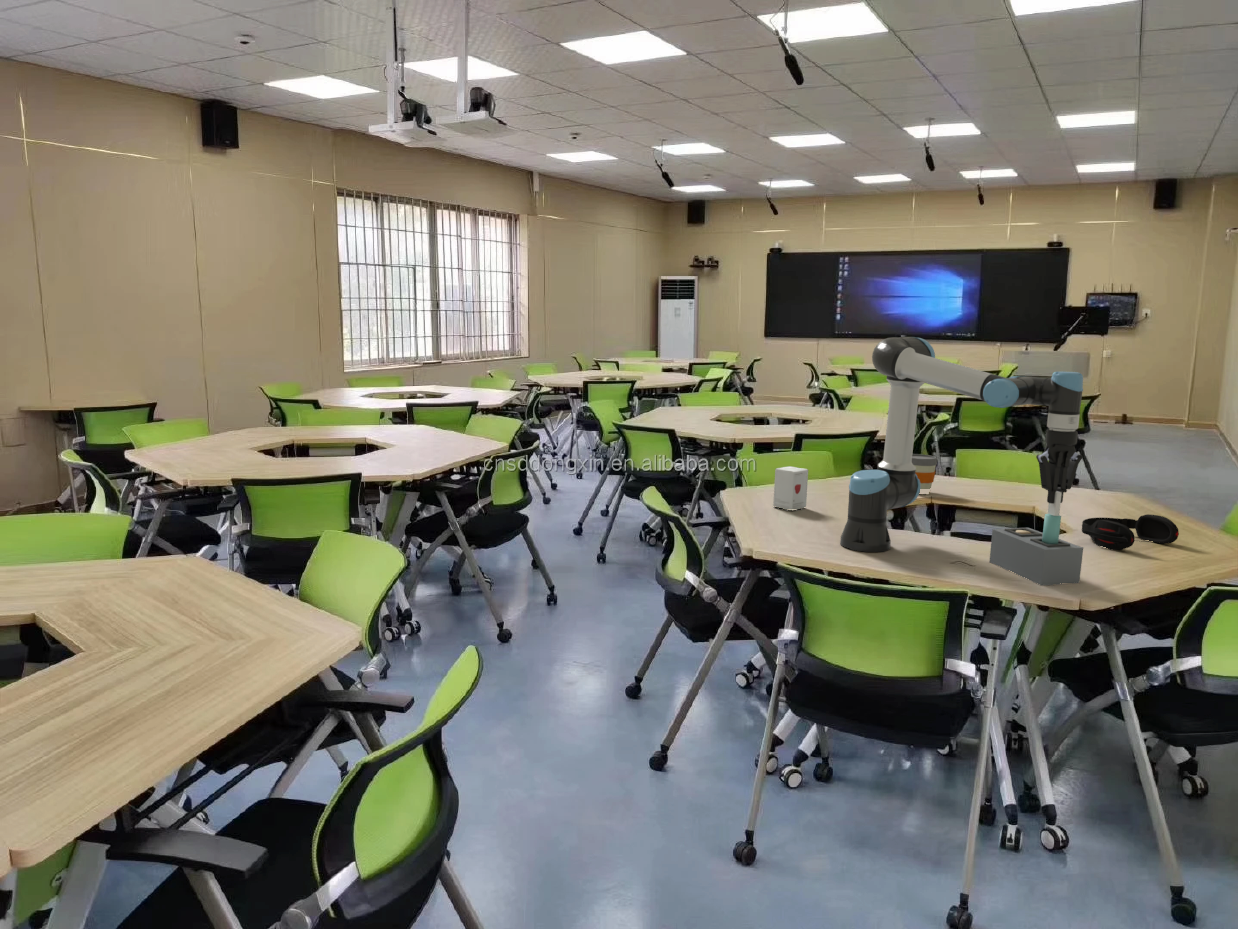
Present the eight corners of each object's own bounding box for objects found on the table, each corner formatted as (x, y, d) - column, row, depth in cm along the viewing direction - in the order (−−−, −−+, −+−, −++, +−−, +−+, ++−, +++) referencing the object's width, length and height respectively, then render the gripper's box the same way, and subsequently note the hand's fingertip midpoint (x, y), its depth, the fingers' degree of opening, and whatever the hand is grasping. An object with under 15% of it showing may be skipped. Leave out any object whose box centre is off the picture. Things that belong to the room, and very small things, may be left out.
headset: (1166, 562, 254) (1169, 534, 252) (1069, 545, 271) (1072, 518, 269) (1180, 543, 275) (1184, 517, 273) (1090, 529, 292) (1093, 504, 290)
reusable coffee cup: (896, 489, 353) (899, 454, 350) (925, 489, 354) (928, 454, 351) (910, 496, 340) (913, 459, 338) (940, 495, 342) (943, 459, 339)
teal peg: (1038, 547, 236) (1041, 514, 234) (1050, 546, 236) (1054, 513, 235) (1048, 551, 232) (1051, 517, 230) (1060, 550, 233) (1064, 516, 231)
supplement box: (791, 512, 310) (794, 471, 307) (772, 507, 316) (774, 468, 314) (807, 508, 316) (809, 469, 313) (787, 504, 322) (789, 465, 320)
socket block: (989, 562, 250) (992, 527, 248) (1024, 560, 253) (1028, 525, 251) (1041, 585, 229) (1045, 547, 227) (1079, 583, 232) (1083, 545, 230)
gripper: (1051, 431, 223) (1042, 518, 227) (1093, 430, 226) (1083, 516, 230) (1031, 427, 230) (1023, 512, 234) (1072, 427, 233) (1064, 510, 237)
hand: (1053, 514), depth 232 cm, fingers closed
